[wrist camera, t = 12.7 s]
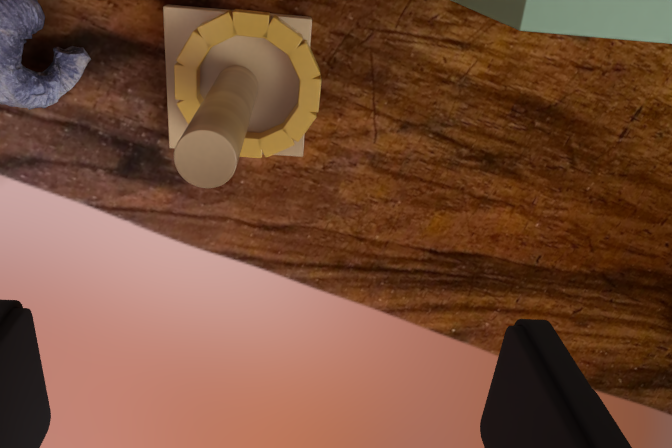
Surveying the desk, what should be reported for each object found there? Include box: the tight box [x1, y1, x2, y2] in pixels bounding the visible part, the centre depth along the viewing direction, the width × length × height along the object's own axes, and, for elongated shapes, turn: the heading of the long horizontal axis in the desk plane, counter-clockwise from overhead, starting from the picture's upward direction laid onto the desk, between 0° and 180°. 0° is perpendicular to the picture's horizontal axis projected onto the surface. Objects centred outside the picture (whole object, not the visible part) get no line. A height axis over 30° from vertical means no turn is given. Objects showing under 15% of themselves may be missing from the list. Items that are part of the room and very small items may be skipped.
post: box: [163, 5, 312, 188], centre depth 28 cm, size 8×8×13 cm
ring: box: [174, 9, 322, 158], centre depth 32 cm, size 8×8×1 cm
